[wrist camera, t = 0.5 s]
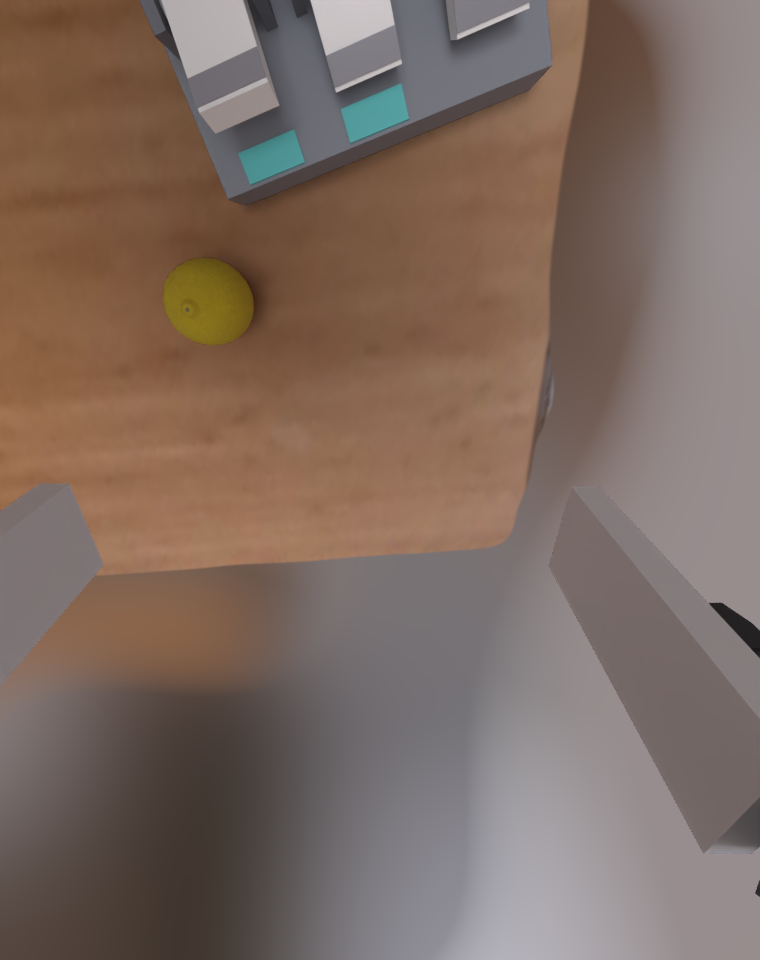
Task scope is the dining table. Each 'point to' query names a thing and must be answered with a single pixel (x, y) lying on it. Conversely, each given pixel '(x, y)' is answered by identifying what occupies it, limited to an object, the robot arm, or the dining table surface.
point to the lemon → (208, 301)
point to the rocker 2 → (357, 39)
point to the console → (360, 90)
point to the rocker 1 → (221, 59)
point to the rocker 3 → (479, 14)
